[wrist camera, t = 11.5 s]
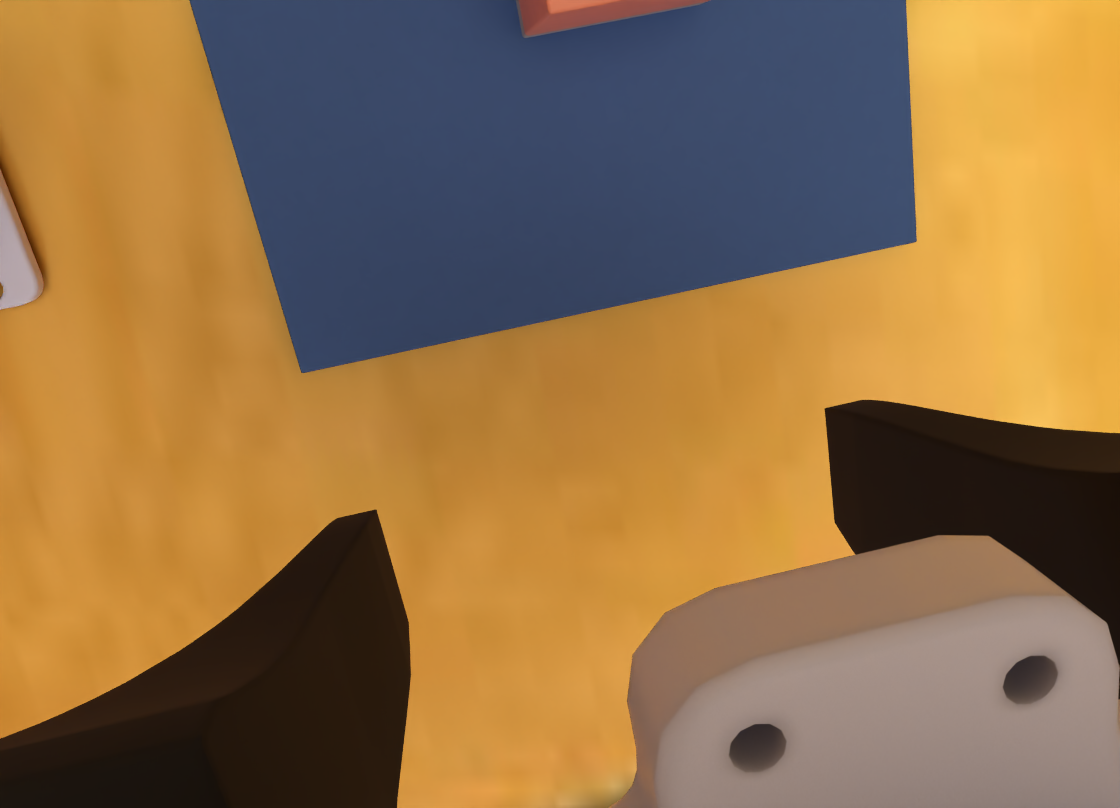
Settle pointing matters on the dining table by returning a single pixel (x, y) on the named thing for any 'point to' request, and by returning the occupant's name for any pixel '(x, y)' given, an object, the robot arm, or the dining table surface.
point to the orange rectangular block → (586, 13)
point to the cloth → (552, 156)
